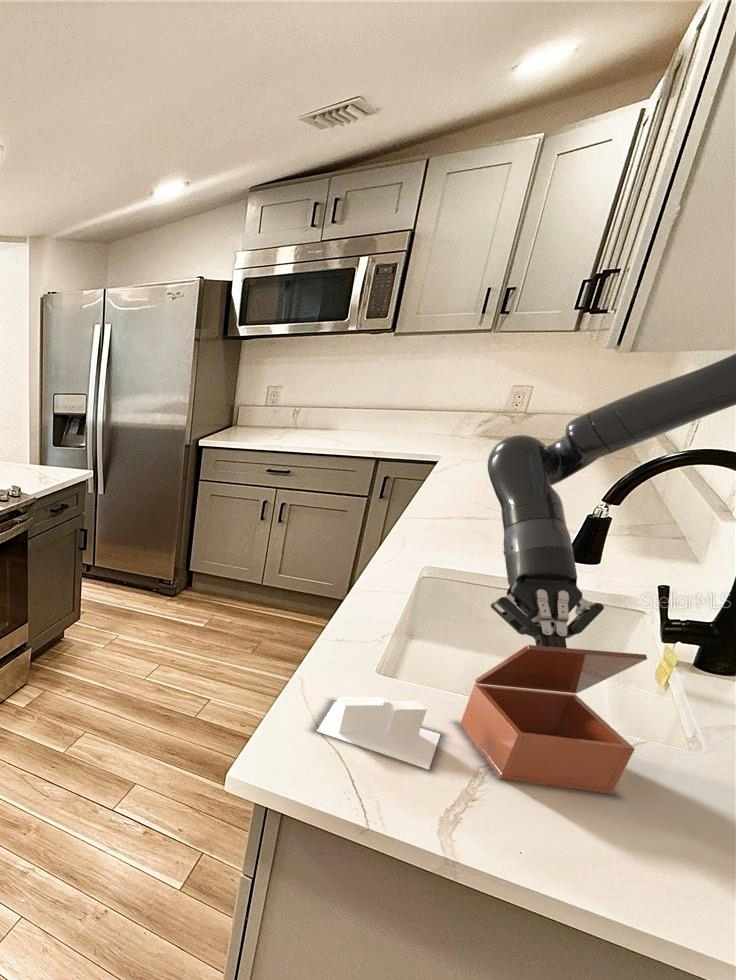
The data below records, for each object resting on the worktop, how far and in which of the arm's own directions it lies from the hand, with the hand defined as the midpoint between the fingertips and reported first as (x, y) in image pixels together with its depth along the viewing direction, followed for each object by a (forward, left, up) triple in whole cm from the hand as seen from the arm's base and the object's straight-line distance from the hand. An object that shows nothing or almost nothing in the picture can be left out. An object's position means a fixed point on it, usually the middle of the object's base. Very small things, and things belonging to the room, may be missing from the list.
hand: (553, 662), depth 89 cm
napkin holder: (+17, +10, -15) cm, 24 cm away
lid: (0, +1, -1) cm, 1 cm away
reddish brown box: (-1, +3, -15) cm, 15 cm away
